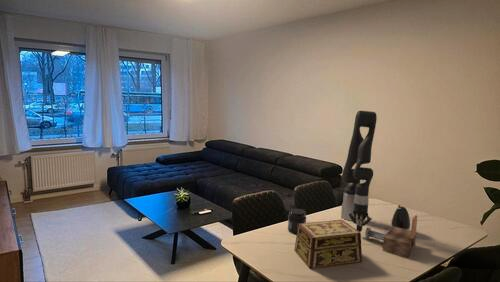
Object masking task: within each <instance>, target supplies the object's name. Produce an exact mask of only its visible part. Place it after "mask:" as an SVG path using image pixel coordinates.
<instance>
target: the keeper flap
mask: <svg viewBox="0 0 500 282" xmlns="http://www.w3.org/2000/svg"><path fill="white" fill-rule="evenodd" d="M417 225H418V214H415V215H414V216H413V218H412V219H411V226H410V228H411V229H410V231H411V239H413V237H414V236H415V234H416V235H417Z"/></svg>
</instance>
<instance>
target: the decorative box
mask: <svg viewBox="0 0 500 282" xmlns="http://www.w3.org/2000/svg"><path fill="white" fill-rule="evenodd" d="M295 236H296V238H295V244H294V252H295V253H296V255H298V256H299V258H300V259H301V260H302V261H303V262H304V264H305V265H306V266H307V267H308V269H310V270H314V269H319V268H320V269H322V268H328V267H335V266H344V265H350V264H357V263H359V264H360V263H362V262H363V254H362V251H363V249H362V233H361V232H359V231H358V230H356V228H355V227H353V226H352V225H351V224H349V223H347V222H346V220H345V221H344V220H343V219H337V220H334V219H333V220H324V221H323V220H322V221H312V222H306V223H301V224H298V229H297V234H296V235H295Z"/></svg>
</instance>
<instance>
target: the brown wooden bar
mask: <svg viewBox="0 0 500 282" xmlns="http://www.w3.org/2000/svg"><path fill="white" fill-rule="evenodd" d="M386 234H387V233H383V232H379V231H375V230H372V228H371V227H369V226H368V227H366V229H365V234H364V235H365V239H369V238H373V239H377V240H381V241H384V236H385V235H386Z"/></svg>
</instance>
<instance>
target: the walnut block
mask: <svg viewBox="0 0 500 282" xmlns="http://www.w3.org/2000/svg"><path fill="white" fill-rule="evenodd" d="M385 234H386V235H385V236H384V241H383V240H382V241H383V242H382V243H383V244H382V251H383V252H385V253H386V252H387V253H389V254H392V255H397V256H401V257H403V258H407V259H408V258H409V257H410V255H411V253H412V252H413V251H414V248H415V246H416V242H417V233H416V234H415V236H414V237H413V239H411V229H409V230H406V229H402V228H398V227H394V226H393V227H392V226H391V228H390V229H389V230H388V231H387V232H386V233H385Z"/></svg>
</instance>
